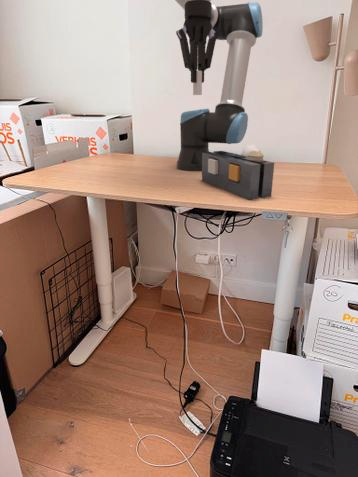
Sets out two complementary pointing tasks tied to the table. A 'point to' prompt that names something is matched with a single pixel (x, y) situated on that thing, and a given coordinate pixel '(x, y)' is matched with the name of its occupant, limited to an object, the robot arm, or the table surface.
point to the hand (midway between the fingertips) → (197, 94)
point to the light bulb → (249, 149)
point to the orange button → (234, 172)
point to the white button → (213, 165)
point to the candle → (256, 155)
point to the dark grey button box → (251, 174)
